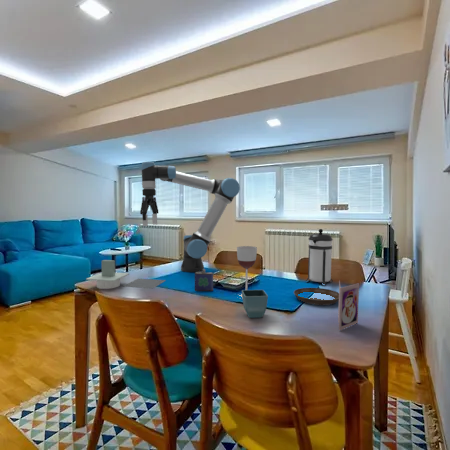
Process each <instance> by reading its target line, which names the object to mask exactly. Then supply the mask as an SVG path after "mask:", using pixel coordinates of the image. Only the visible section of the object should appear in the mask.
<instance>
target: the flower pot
mask: <svg viewBox="0 0 450 450" xmlns="http://www.w3.org/2000/svg"><path fill="white" fill-rule="evenodd" d="M241 294H242V299H241V300H242V304H243V308H244V310H245V313H246V315H247V317H248V318H250V319H251V318H253V319H254V318H263V316H264V315H265V313H266V311H267V305H268V298H269V295H268V294H267V292H266V291H265V290H264V289H247V290H245V289H242V290H241Z"/></svg>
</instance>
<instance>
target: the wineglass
mask: <svg viewBox="0 0 450 450" xmlns="http://www.w3.org/2000/svg"><path fill="white" fill-rule="evenodd" d="M257 254H258V248H257V247H256V246H252V245H251V246H249V245H240V246H237V247H236V256H237V261H238V262H237V263H238V264H239V265H240V266H241V267H242V268H243V269H245V289H244V290H248V277H249V276H248V271H249V269H250V268H251V267H253V266H254V265H255V263H256V260H257ZM240 294H241V295H239V294H238V295H239V296H241V297H242V293H240Z"/></svg>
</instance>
